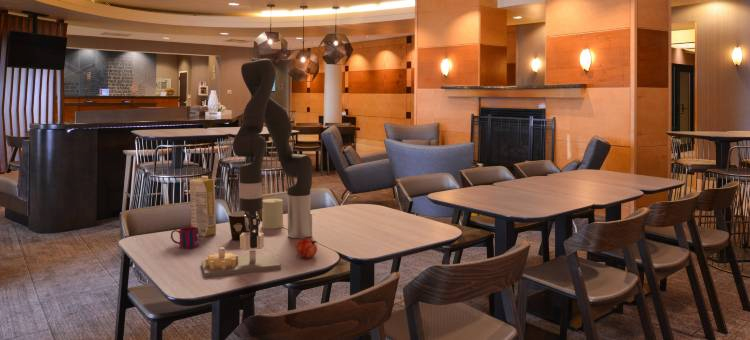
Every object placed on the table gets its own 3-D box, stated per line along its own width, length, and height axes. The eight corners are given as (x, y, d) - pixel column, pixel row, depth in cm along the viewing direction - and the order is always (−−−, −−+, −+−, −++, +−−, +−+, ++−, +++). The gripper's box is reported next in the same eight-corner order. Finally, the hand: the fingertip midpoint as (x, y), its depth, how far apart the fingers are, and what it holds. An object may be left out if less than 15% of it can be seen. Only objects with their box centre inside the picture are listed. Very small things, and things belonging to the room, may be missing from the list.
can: (273, 230, 235) (272, 202, 233) (257, 227, 240) (256, 199, 238) (287, 225, 242) (287, 198, 241) (272, 223, 247) (271, 196, 246)
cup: (195, 249, 206) (194, 231, 205) (168, 248, 206) (167, 230, 205) (201, 244, 212) (200, 226, 211) (175, 243, 213) (175, 226, 212)
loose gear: (261, 244, 189) (261, 231, 189) (265, 248, 184) (264, 235, 183) (239, 246, 187) (238, 233, 186) (241, 250, 181) (241, 237, 180)
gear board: (272, 257, 195) (272, 238, 194) (280, 269, 183) (280, 248, 182) (201, 264, 187) (200, 244, 186) (205, 277, 174) (204, 255, 173)
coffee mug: (224, 240, 218) (223, 215, 217) (237, 235, 226) (237, 211, 225) (249, 243, 214) (248, 217, 213) (261, 237, 222) (261, 213, 220)
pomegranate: (293, 265, 193) (312, 252, 189) (285, 247, 196) (303, 233, 191) (307, 262, 200) (326, 249, 195) (299, 245, 202) (317, 231, 197)
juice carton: (219, 233, 228) (217, 176, 224) (204, 238, 221) (201, 178, 218) (203, 230, 233) (201, 174, 229) (188, 234, 226) (186, 176, 223)
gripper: (266, 198, 178) (267, 249, 180) (258, 191, 191) (259, 239, 193) (242, 200, 175) (243, 252, 177) (236, 192, 188) (237, 241, 190)
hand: (252, 245), depth 185 cm, fingers closed on loose gear, 6 cm apart
